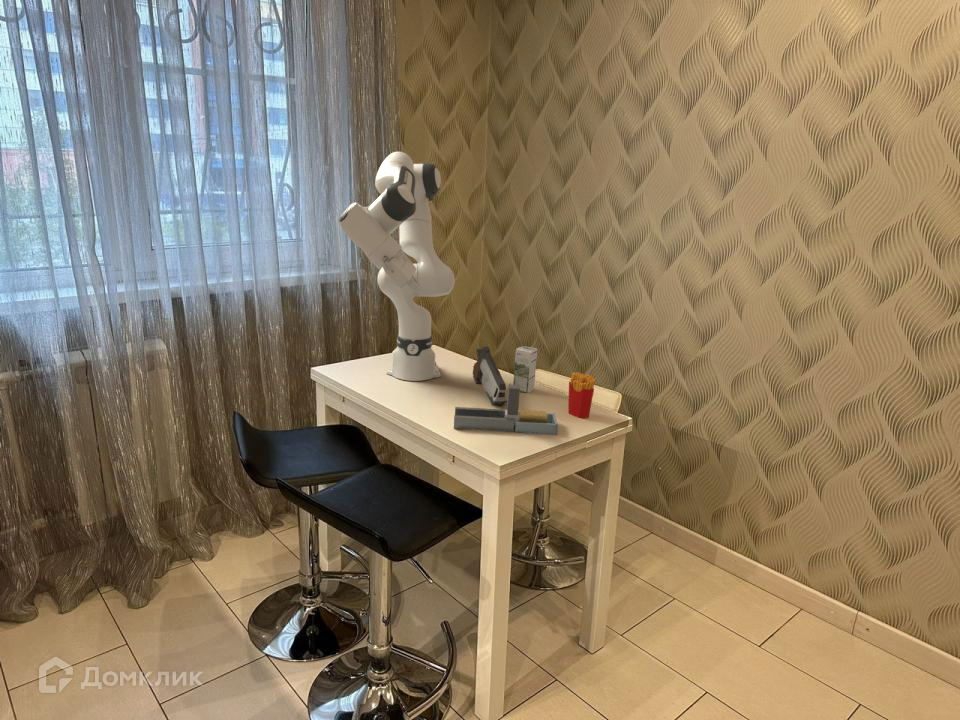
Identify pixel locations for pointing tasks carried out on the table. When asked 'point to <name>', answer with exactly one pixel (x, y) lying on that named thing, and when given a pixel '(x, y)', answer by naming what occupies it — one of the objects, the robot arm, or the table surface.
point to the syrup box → (525, 368)
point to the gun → (489, 377)
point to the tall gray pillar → (513, 403)
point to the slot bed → (482, 419)
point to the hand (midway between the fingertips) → (420, 291)
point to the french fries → (580, 395)
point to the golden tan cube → (526, 416)
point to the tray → (539, 426)
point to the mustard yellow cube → (540, 417)
